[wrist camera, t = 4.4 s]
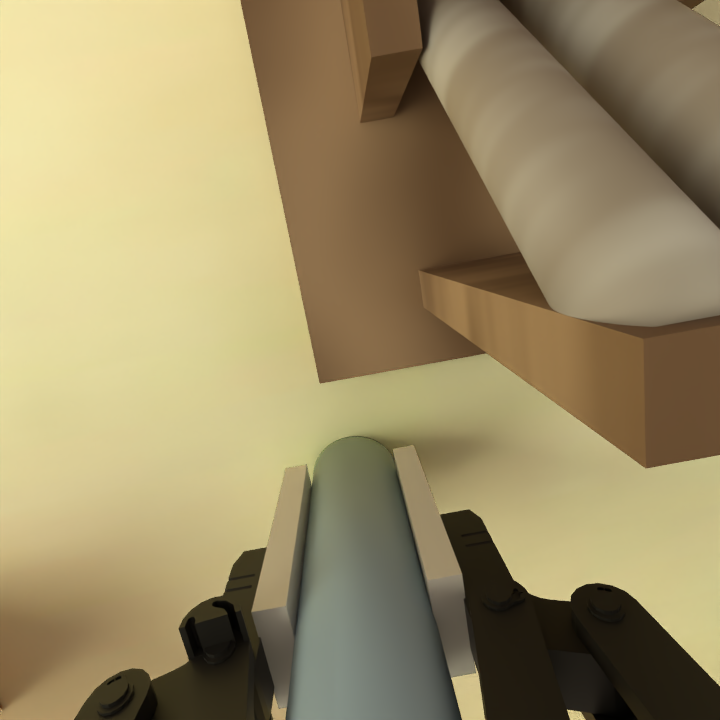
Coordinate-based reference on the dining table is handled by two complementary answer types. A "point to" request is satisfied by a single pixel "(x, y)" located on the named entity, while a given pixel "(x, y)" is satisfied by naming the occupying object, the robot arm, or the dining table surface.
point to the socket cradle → (508, 197)
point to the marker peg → (364, 600)
